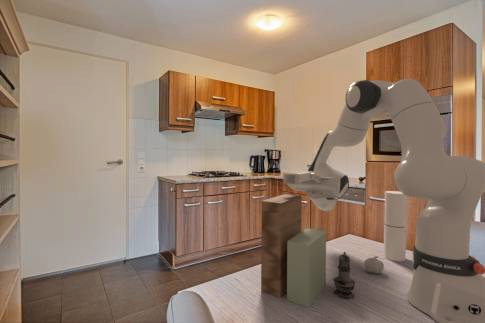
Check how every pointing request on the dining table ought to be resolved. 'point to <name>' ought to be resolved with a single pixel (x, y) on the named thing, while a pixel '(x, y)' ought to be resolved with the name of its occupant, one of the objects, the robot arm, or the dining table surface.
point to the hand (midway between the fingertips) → (306, 174)
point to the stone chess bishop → (344, 279)
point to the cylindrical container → (395, 226)
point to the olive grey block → (306, 266)
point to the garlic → (373, 265)
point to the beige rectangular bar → (297, 177)
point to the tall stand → (277, 240)
